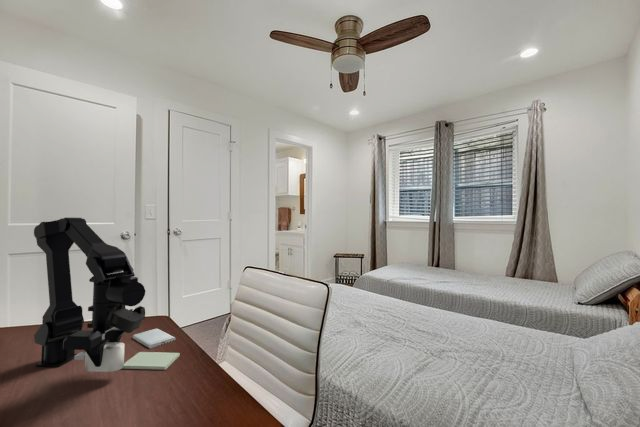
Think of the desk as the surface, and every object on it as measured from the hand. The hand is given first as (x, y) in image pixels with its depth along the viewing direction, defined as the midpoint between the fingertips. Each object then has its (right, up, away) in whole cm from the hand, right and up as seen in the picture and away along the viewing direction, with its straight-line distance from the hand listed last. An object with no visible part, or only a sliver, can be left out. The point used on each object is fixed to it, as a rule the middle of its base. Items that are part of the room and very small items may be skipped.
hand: (104, 362), depth 74 cm
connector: (-1, -1, 0) cm, 2 cm away
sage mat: (+7, -5, +9) cm, 12 cm away
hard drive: (-1, -5, +24) cm, 25 cm away
